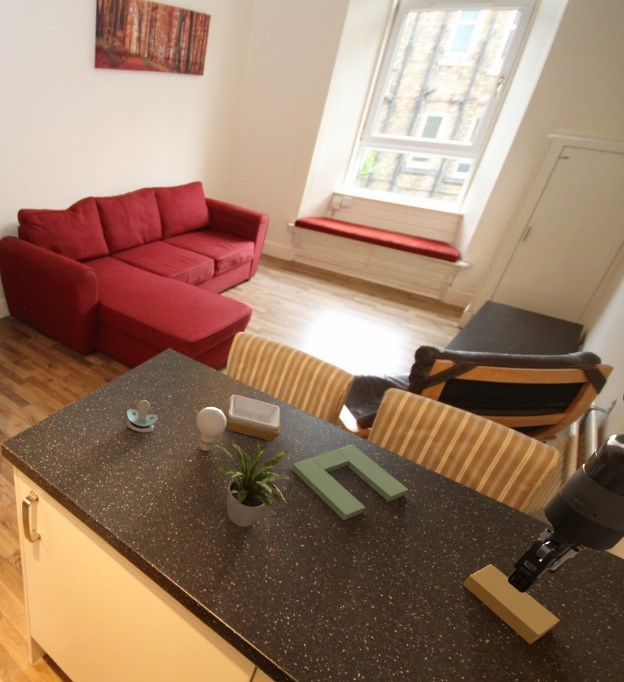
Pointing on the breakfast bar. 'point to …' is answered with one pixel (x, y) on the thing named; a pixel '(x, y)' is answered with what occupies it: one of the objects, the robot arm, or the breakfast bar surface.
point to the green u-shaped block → (333, 492)
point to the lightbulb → (210, 426)
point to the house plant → (251, 486)
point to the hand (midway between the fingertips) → (531, 576)
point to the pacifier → (141, 417)
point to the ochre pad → (511, 604)
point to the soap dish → (252, 417)
